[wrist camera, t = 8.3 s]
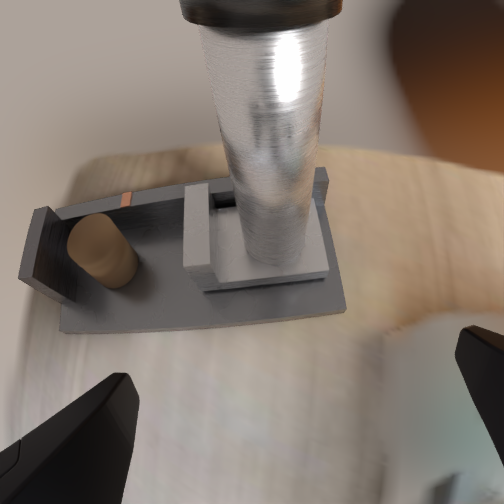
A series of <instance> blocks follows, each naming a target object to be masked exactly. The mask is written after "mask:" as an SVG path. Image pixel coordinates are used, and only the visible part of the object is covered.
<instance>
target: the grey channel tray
mask: <svg viewBox="0 0 504 504" xmlns="http://www.w3.org/2000/svg"><path fill="white" fill-rule="evenodd" d="M204 183H208V184H209V187H210V190H211V193H212V196H213V200H214V203H215V206H216V209H220V208H228V207H236V201H235V197H234V192H233V188H232V183H231V178H230V177H224V178H217V179H210V180H203V181H196V182H190V183H183V184H177V185H171V186H165V187H159V188H154V189H148V190H143V191H137V192H132V191H131V192H126V193H123V194H122V195H117V196H112V197H107V198H102V199H98V200H93V201H88V202H84V203H80V204H75V205H71V206H67V207H63V208H58V209H56V211H55V212H54V211H53V210H52V209H51V208H50V207H49V206H46V207H42V208H39V209H35V210H34V213H33V216H32V220H31V224H30V227H29V231H28V235H27V239H26V243H25V247H24V252H23V256H22V261H21V265H20V271H19V276H18V279H19V280H21V281H23V282H24V283H26V284H28V285H29V286H31V287H33V288H34V289H36V290H38V291H40V292H41V293H43V294H45V295H47V296H48V297H50V298H52V299H54V300H56V301H57V302H59V303H61V304H62V305H61V316H60V329H59V331H61V332H63V333H66V334H110V333H142V332H163V331H181V330H195V329H209V328H221V327H232V326H243V325H253V324H262V323H271V322H280V321H288V320H296V319H304V318H311V317H318V316H325V315H332V314H339V313H344V312H345V310H346V309H347V308H346V302H345V297H344V292H343V287H342V282H341V277H340V272H339V267H338V262H337V258H336V253H335V249H334V244H333V240H332V235H331V231H330V227H329V223H328V218H327V214H326V210H325V206H324V204H325V199H326V194H327V189H328V184H329V179H328V175H327V172H326V169H325V167H318V168H315V174H314V182H313V189H312V197H311V198H314V201H315V206H316V210H317V214H318V219H319V223H320V228H321V232H322V237H323V241H324V246H325V251H326V256H327V261H328V266H329V272H328V275H327V277H324V278H317V279H309V280H301V281H293V282H284V283H276V284H267V285H258V286H249V287H240V288H231V289H221V290H211V291H200V289H199V288H198V287H197V285H196V284H195V283H194V281H193V280H192V278H191V277H190V276H189V274H188V273H187V271H186V270H185V268H184V267H183V237H184V200H185V186H190V185H197V184H204ZM95 213H101V214H105V215H107V216H108V217H109V218H110V219H111V220H112V221H113V223H114V224H115V225H116V227H117V228H118V229H119V231H120V232H121V233H122V235H123V236H124V237H125V239H126V240H127V241H128V242H129V244H130V245H131V246H132V247H133V249H134V250H135V251H136V253H137V256H138V267H137V270H136V273H135V275H134V276H133V278H132V279H131V280H130V281H129V282H128V283H127V284H125V285H124V286H122V287H119V288H114V289H113V288H107V287H105V286H103V285H102V284H100V283H99V282H98V281H97V280H96V279H95V278H93V277H92V276H91V275H90V274H89V273H87V272H86V271H85V270H84V269H83V268H82V267H80V266H79V265H78V264H77V263H76V262H75V261H74V260H73V259H72V258H71V257H70V256H69V254H68V250H67V242H68V238H69V235H70V233H71V231H72V229H73V228H74V226H75V225H76V224H77V223H78V222H79V221H80V220H81V219H83V218H84V217H86V216H88V215H91V214H95Z"/></svg>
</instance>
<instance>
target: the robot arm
mask: <svg viewBox="0 0 504 504" xmlns="http://www.w3.org/2000/svg"><path fill="white" fill-rule="evenodd" d="M455 359H456V362H457V364H458V366H459V368H460V371H461V373H462V376H463V378H464V380H465V383H466V385H467V388H468V390H469V393H470V395H471V397H472V400H473V402H474V404H475V406H476V408H477V410H478V412H479V414H480V416H481V418H482V420H483V422H484V424H485V426H486V428H487V430H488V432H489V435H490V437H491V439H492V441H493V443H494V445H495V448H496V450H497V452H498V454H499V457H500V459H501V461H502V464H503V466H504V335H501V334H498V333H495V332H492V331H490V330H487V329H484V328H481V327H478V326H475V325H471V326H468V327H465V328H463V329H462V330H461V332H460V334H459V338H458V343H457V347H456V350H455ZM139 403H140V400H139V395H138V393H137V390H136V388H135V386H134V384H133V381H132V379H131V377H130V375H129V374H127V373H113V374H111V375H110V376H108V377H107V378H106V379H104V380H103V381H101V382H100V383H99V384H97V385H96V386H94V387H93V388H92V389H90V390H89V391H87V392H86V393H85V394H83V395H82V396H80V397H79V398H78V399H76V400H75V401H73V402H72V403H71V404H69V405H68V406H66V407H65V408H64V409H62V410H61V411H59V412H58V413H56V414H55V415H54V416H52V417H51V418H49V419H48V420H47V421H45V422H44V423H42V424H41V425H39V426H38V427H37V428H35V429H34V430H32V431H31V432H29V433H28V434H26V435H25V436H24V437H22V438H21V440H20V439H19V440H18V441H16V442H15V443H13V444H12V445H11V446H9V447H8V448H6V449H5V450H3V451H1V452H0V504H121V502H122V497H123V493H124V488H125V483H126V479H127V475H128V470H129V466H130V462H131V458H132V453H133V448H134V441H135V433H136V425H137V418H138V411H139Z"/></svg>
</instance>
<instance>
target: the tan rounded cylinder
mask: <svg viewBox="0 0 504 504" xmlns="http://www.w3.org/2000/svg"><path fill="white" fill-rule="evenodd" d="M67 250H68V254H69V256H70V257H71V258H72V259H73V260H74V261H75V262H76V263H77V264H78V265H79V266H80V267H82V268H83V269H84V270H85V271H86V272H87V273H89V274H90V275H91V276H92V277H93V278H95V279H96V280H97V281H98V282H99V283H100V284H102V285H103V286H105V287H107V288H113V289H114V288H119V287H122V286H124V285H125V284H127V283H128V282H129V281H130V280H131V279H132V278H133V276H134V275H135V273H136V270H137V267H138V256H137V253H136V251H135V250H134V249H133V247H132V246H131V245H130V244H129V242H128V241H127V240H126V239H125V237H124V236H123V235H122V233H121V232H120V231H119V229H118V228H117V227H116V225H115V224H114V223H113V221H112V220H111V219H110V218H109V217H108V216H107V215H105V214H101V213H95V214H91V215H88V216H86V217H84V218H83V219H81V220H80V221H79V222H78V223H77V224H76V225H75V226H74V228H73V229H72V231H71V233H70V235H69V238H68V242H67Z"/></svg>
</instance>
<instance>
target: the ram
mask: <svg viewBox="0 0 504 504" xmlns="http://www.w3.org/2000/svg"><path fill="white" fill-rule="evenodd" d="M179 1H180V6H181V10H182V15H183V17H184V19H185V20H187V21H189V22H191V23H194V24H197V25H198V28H199V33H200V38H201V42H202V47H203V52H204V57H205V61H206V66H207V71H208V76H209V80H210V85H211V90H212V94H213V99H214V104H215V109H216V113H217V118H218V123H219V127H220V132H221V136H222V141H223V146H224V151H225V155H226V160H227V164H228V169H229V174H230V178H231V183H232V188H233V192H234V197H235V201H236V207H228V208H220V209H216V206H215V203H214V200H213V196H212V193H211V190H210V187H209V184H208V183H204V184H197V185H190V186H185V200H184V237H183V267H184V268H185V270H186V271H187V273H188V274H189V276H190V277H191V278H192V280H193V281H194V283H195V284H196V285H197V287H198V288H199V289H200V291H211V290H221V289H231V288H240V287H249V286H258V285H267V284H276V283H284V282H293V281H301V280H309V279H317V278H324V277H327V275H328V272H329V266H328V261H327V256H326V251H325V246H324V241H323V237H322V232H321V228H320V223H319V219H318V214H317V210H316V206H315V201H314V198H311V197H312V189H313V182H314V174H315V166H316V158H317V149H318V139H319V130H320V122H321V112H322V102H323V91H324V80H325V67H326V53H327V40H328V21H329V18H332V17H334V16H336V15H338V14H339V13H340V12H341V10H342V2H343V0H179Z"/></svg>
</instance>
